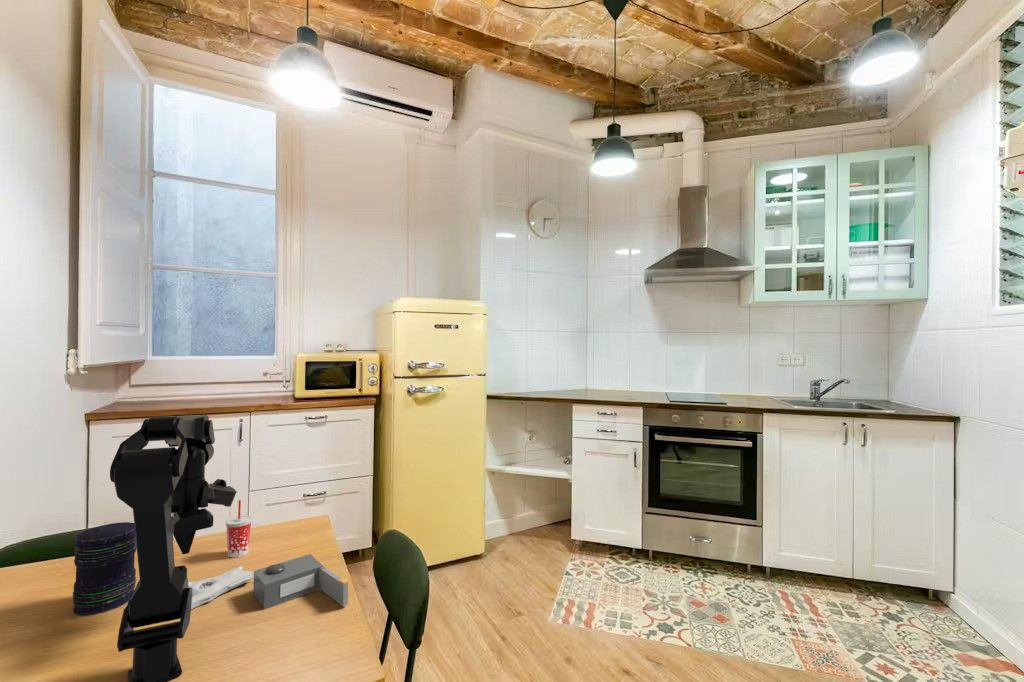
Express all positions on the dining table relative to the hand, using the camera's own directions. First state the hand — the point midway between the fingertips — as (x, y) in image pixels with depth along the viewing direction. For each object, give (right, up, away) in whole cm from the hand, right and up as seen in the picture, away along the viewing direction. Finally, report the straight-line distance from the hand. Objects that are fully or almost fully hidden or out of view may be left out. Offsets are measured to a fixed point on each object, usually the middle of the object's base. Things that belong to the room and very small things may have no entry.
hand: (185, 553), depth 90 cm
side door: (+28, -12, +6) cm, 31 cm away
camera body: (+17, -12, +8) cm, 23 cm away
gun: (-1, -13, +6) cm, 14 cm away
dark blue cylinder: (-20, -12, +3) cm, 23 cm away
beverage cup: (-5, -13, +26) cm, 29 cm away
